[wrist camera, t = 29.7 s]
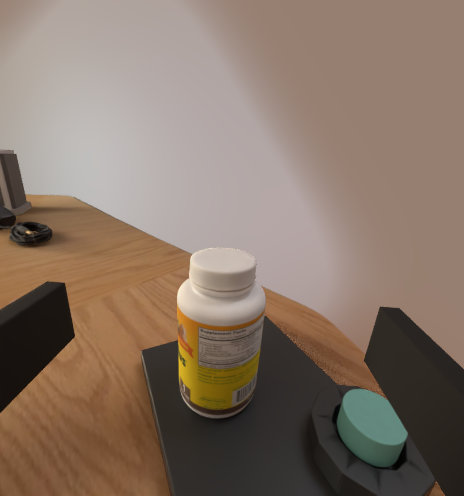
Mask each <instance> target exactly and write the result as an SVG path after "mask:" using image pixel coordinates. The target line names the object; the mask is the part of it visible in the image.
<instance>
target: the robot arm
mask: <svg viewBox="0 0 464 496" xmlns="http://www.w3.org/2000/svg"><path fill="white" fill-rule="evenodd" d="M74 337H75V334H74V329H73V323H72V318H71V313H70V308H69V302H68V297H67V292H66V287H65V283H60V282H45V283H44V284H42V285H41V286H39V287H37V288H36V289H34V290H32V291H31V292H29V293H27V294H26V295H24V296H22V297H21V298H19V299H17V300H16V301H14V302H12V303H11V304H9V305H7V306H6V307H4V308H2V309H1V310H0V413H1V412H2V411H3V410H4V409H5V408H6V407H7V406H8V405H9V404H10V403H11V401H12V400H13V399H14V398H15V397H16V396H17V395H18V394H19V393H20V392H21V391H22V390H23V389H24V388H25V387H26V386H27V385H28V384H29V383H30V382H31V381H32V380H33V379H34V378H35V377H36V376H37V375H38V374H39V373H40V372H41V371H42V370H43V369H44V368H45V367H46V366H47V365H48V364H49V363H50V362H51V361H52V360H53V358H54V357H55V356H56V355H57V354H58V353H59V352H60V351H61V350H62V349H63V348H64V347H65V346H66V345H67V344H68V343H69V342H70V341H71V340H72V339H73V338H74ZM364 361H365V363H366V364H367V366H368V368H369V369H370V371H371V373H372V374H373V376H374V378H375V379H376V381H377V383H378V384H379V386H380V388H381V389H382V391H383V393H384V394H385V396H386V398H387V399H388V401H389V403H390V404H391V406H392V408H393V409H394V411H395V413H396V414H397V416H398V418H399V419H400V421H401V423H402V424H403V426H404V428H405V429H406V431H407V433H408V434H409V436H410V438H411V439H412V441H413V443H414V444H415V446H416V448H417V449H418V451H419V453H420V454H421V456H422V458H423V459H424V461H425V463H426V464H427V466H428V468H429V469H430V471H431V473H432V474H433V476H434V478H435V479H436V481H437V483H438V484H439V486H440V488H441V489H442V491H443V493H444V494H445V496H464V369H463V368H462V367H461V366H460V365H459V364H457V363H456V362H455V361H454V360H453V359H452V358H451V357H450V356H449V355H448V354H447V353H446V352H445V351H444V350H443V349H442V348H441V347H440V346H438V345H437V344H436V343H435V342H434V341H433V340H432V339H431V338H430V337H429V336H428V335H427V334H426V333H425V332H424V331H423V330H422V329H420V328H419V327H418V326H417V325H416V324H415V323H414V322H413V321H412V320H411V319H410V318H409V317H408V316H407V315H406V314H405V313H404V312H403V311H402V310H400V309H399V308H390V307H380V308H379V312H378V315H377V318H376V322H375V325H374V329H373V332H372V336H371V339H370V342H369V346H368V349H367V352H366V355H365V359H364Z"/></svg>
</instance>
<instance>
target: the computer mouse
mask: <svg viewBox="0 0 464 496" xmlns="http://www.w3.org/2000/svg"><path fill="white" fill-rule="evenodd" d="M15 220H16V216H15V215H14V214H13V213H12V212H11V211H10V210H8V209H7V208H5V207H3V206H1V205H0V229H5V228H11V229H12V230H11V234H10V236H9V239H10V240H12V241H14V242H16V243H17V244H18V245H34V244H39V243H42V242H45V241H48V240H49V239H51V238H52V230H51V229H50V228H49V227H48V226H47V225H43V224H39V223H36V222H24V223H17V224H16V225H15V226H14V227H9V226H10V225H13V224H15ZM6 226H8V227H6ZM32 231H36V232H38V233H37V234H34V233H33V232H32ZM23 235H25V236H23Z"/></svg>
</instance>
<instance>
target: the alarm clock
mask: <svg viewBox="0 0 464 496" xmlns="http://www.w3.org/2000/svg"><path fill="white" fill-rule="evenodd" d="M0 205H1V206H3V207H5V208H7V209H8V210H10V211H11V212H12V213H13V214H14V215H15V216H16V215H22V214H23V213H24V212H26V211H27V210H29V209H30V208H32V205H31V202H27V201H26V196H25V192H24V187H23V183H22V178H21V174H20V169H19V165H18V160H17V155H16V154H14V151H13V150H0Z"/></svg>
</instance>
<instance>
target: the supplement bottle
mask: <svg viewBox="0 0 464 496" xmlns="http://www.w3.org/2000/svg"><path fill="white" fill-rule="evenodd" d="M255 271H256V260H255V258H254V257H253V256H252V255H250V254H249V253H246V252H244V251H241V250H237V249H232V248H208V249H203V250H200V251H198V252H196V253H194V254H193V255H192V256H191V259H190V272H189V277H190V278H189V279H187V280H186V281H185V282H184V283H183V284H182V285H181V287H180V289H179V291H178V295H177V316H178V353H179V386H180V392H181V395H182V397H183V399H184V401H185V403H186V404H187V405H188V406H189V407H190V408H191V409H192V410H193V411H195V412H196V413H198V414H200V415H202V416H205V417H209V418H226V417H229V416H232V415H235V414H237V413H238V412H240V411H241V410H243V409H244V408H245V407H246V406H247V405H248V403H249V402H250V401H251V399H252V397H253V394H254V391H255V387H256V379H257V371H258V363H259V356H260V347H261V339H262V331H263V322H264V314H265V305H266V297H265V293H264V290H263V289H262V287H261V286H260V285H259V284H258V283H257V282H256V281H255V279H256V275H255Z"/></svg>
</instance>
